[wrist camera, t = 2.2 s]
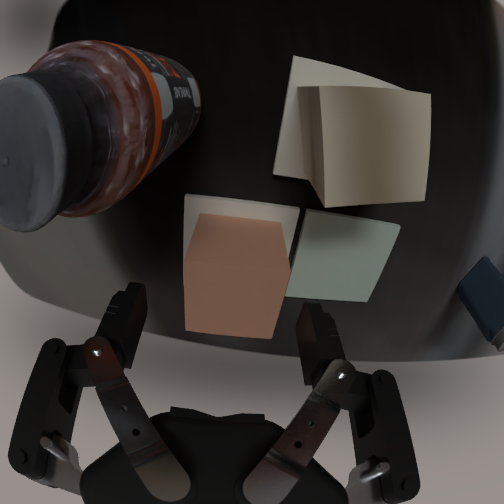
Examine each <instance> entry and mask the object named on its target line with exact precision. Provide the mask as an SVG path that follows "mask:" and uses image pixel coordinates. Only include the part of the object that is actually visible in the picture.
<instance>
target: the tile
mask: <svg viewBox="0 0 504 504" xmlns="http://www.w3.org/2000/svg"><path fill="white" fill-rule="evenodd" d="M297 86H362V87H378V88H389V89H398V90H404V89H402V88H400V87H397V86H395V85H392V84H389V83H387V82H384V81H382V80H379V79H376V78H373V77H370V76H367V75H364V74H361V73H358V72H355V71H352V70H349V69H345V68H342V67H338V66H335V65H331V64H327V63H323V62H319V61H315V60H311V59H306V58H302V57H297V56H293V58H292V64H291V70H290V76H289V81H288V87H287V93H286V99H285V105H284V110H283V116H282V122H281V128H280V133H279V139H278V145H277V150H276V156H275V162H274V167H273V174H275V175H282V176H288V177H294V178H300V179H306V180H309V179H308V178H307V176H306V174H305V173H304V163H303V148H302V135H301V123H300V112H299V101H298V91H297ZM406 91H407V90H406Z"/></svg>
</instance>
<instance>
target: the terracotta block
mask: <svg viewBox="0 0 504 504" xmlns="http://www.w3.org/2000/svg"><path fill="white" fill-rule="evenodd" d="M290 273H291V270H290V265H289V260H288V255H287V250H286V245H285V240H284V235H283V230H282V225H281V222H274V221H266V220H258V219H249V218H241V217H232V216H223V215H214V214H205V213H200V214H199V217H198V220H197V223H196V226H195V229H194V232H193V235H192V237H191V240H190V243H189V246H188V250H187V253H186V256H185V259H184V300H185V329H186V331H194V332H202V333H210V334H219V335H229V336H240V337H252V338H265V339H272V335H273V332H274V329H275V325H276V322H277V319H278V315H279V312H280V309H281V305H282V302H283V298H284V295H285V291H286V288H287V284H288V281H289V277H290Z"/></svg>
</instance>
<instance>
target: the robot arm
mask: <svg viewBox="0 0 504 504" xmlns="http://www.w3.org/2000/svg"><path fill="white" fill-rule="evenodd" d="M147 310H148V306H147V298H146V290H145V285H144V284H141V283H134V282H130V283H129V284H128V286H127V288H126V290H125V291H118V292H117V293H116V294H115V295H114V296H113V297H112V299H111V301H110V303H109V306H108V307H107V309H106V313H105V314H104V316H103V318H102V320H101V323H100V325H99V327H98V330H97V332H96V334H95V336H94V337H91V338H89V339H88V340H86V341H85V343H84V344H82V345H69V346H66V344H65V342H64V341H63V340H61V339H58V338H52V339H49V340H48V341H46V342H45V343H44V344H43V346H42V348H41V351H40V353H39V355H38V358H37V360H36V363H35V365H34V368H33V370H32V373H31V376H30V379H29V381H28V384H27V387H26V390H25V393H24V396H23V399H22V402H21V405H20V408H19V412H18V415H17V419H16V422H15V426H14V430H13V434H12V438H11V442H10V447H9V451H8V458H9V462H10V464H11V466H12V467H13V469H14V470H15V471H17V472H18V473H20V474H22V475H25V476H26V477H27V478H29V479H31V480H33V481H36V482H38V483H40V484H43V485H47V486H49V487H52V488H61V489H64V490H66V491H69V492H72V493H75V494H78V495H81V496H82V499H83V501H84V504H398V503H401V502H405V501H408V500H411V499H412V498H414V497H415V496H416V495H417V493H418V491H419V489H420V478H419V473H418V468H417V463H416V458H415V453H414V448H413V444H412V439H411V435H410V431H409V427H408V423H407V419H406V415H405V411H404V408H403V404H402V400H401V397H400V393H399V390H398V386H397V383H396V380H395V378H394V376H393V375H392V374H391V373H390V372H388V371H386V370H377V371H375V372H374V373H373V374H372V375H371V374H367V373H363V372H359V371H356V369H355V367H354V366H353V365H352V364H351V363H350V362H348V361H346V358H345V354H344V351H343V348H342V344H341V341H340V338H339V336H338V335H339V334H338V331H337V328H336V325H335V321H334V319H333V318H332V317H331V316H330V314H329V313H323V310H322V307H321V304H320V303H319V302H307V301H305V302H304V304H303V307H302V309H301V312H300V315H299V317H298V320H297V323H296V336H297V342H298V348H299V353H300V359H301V365H302V371H303V377H304V383H305V385H312V388H313V391H312V392H311V394H310V395H309V397H308V398H307V400H306V401H305V403H304V404H303V405H302V407H301V408H300V410H299V411H298V413H297V414H296V415H295V417H294V418H293V420H292V421H291V422H290V424H289V425H288V426H287V428H286V429H283V428H282V427H281V426H279V425H277V424H275V423H273V422H270V421H268V420H265V416H264V414H244V413H243V414H242V413H241V414H235V415H229V416H223V417H215V416H211V415H208V414H206V413H203V412H200V411H197V410H194V409H185V408H178V407H172V406H171V409H170V412H165V413H160V414H157V415H154V416H152V417H150V418H149V417H148V415H147V414H146V412H145V410H144V408H143V407H142V405H141V403H140V401H139V399H138V398H137V396H136V394H135V392H134V390H133V388H132V386H131V384H130V383H129V381H128V379H127V377H126V376H125V374H124V372H123V370H124V368H129V369H131V367H132V363H133V360H134V356H135V353H136V349H137V346H138V343H139V339H140V336H141V333H142V330H143V326H144V323H145V320H146V317H147ZM91 386H95V387H96V388H95V389H96V392H97V395H98V397H99V399H100V402H101V404H102V406H103V408H104V411H105V413H106V415H107V417H108V419H109V421H110V423H111V425H112V427H113V429H114V431H115V433H116V435H117V437H118V439H119V441H120V442H119V443H118V444H116V445H115V446H114V447H112V448H111V449H110V450H109V451H107V452H106V453H105V454H103V455H102V456H101V457H99V458H98V459H97V460H95V461H94V462H93V463H92V464H90V465H89V466H88V467H87V468H86V469H85V470H84V471H82V470H81V468H80V466H79V462H78V453H77V451H76V449H75V448H74V447H73V446H72V445H71V444H70V443H71V437H72V432H73V427H74V422H75V418H76V414H77V409H78V405H79V401H80V397H81V393H82V389H83V387H91ZM341 409H344V410H348V411H349V417H350V423H351V429H352V436H353V443H354V450H355V458H356V467H355V468H354V469H352V471H351V472H350V474H349V482H348V485H347V487H346V488H344V487H343V486H342V485H341V484H340V483H339V482H338V481H337V480H336V479H335V478H334V477H333V476H332V475H331V474H330V473H328V472H327V471H326V470H325V469H324V468H323V467H322V466H321V465H320V464H319V463H318V462H317V461H316V460H315V459H314V458H313V456H314V454H315V452H316V451H317V449H318V448H319V446H320V444H321V443H322V441H323V440H324V438H325V437H326V435H327V433H328V431H329V430H330V428H331V426H332V425H333V423H334V421H335V420H336V418H337V416H338V414H339V412H340V410H341Z"/></svg>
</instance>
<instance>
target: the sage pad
mask: <svg viewBox="0 0 504 504" xmlns="http://www.w3.org/2000/svg"><path fill="white" fill-rule="evenodd" d="M400 228H401V227H400V226H399V225H398V224H393V223H388V222H383V221H377V220H372V219H367V218H361V217H356V216H350V215H344V214H338V213H332V212H326V211H320V210H313V209H307V208H306V213H305V217H304V221H303V225H302V228H301V232H300V236H299V240H298V244H297V248H296V252H295V255H294V259H293V263H292V266H291V273H290V277H289V281H288V284H287V288H286V291H285V296H287V297H299V298H312V299H326V300H341V301H358V302H367V301H368V299H369V297H370V295H371V293H372V291H373V289H374V287H375V285H376V283H377V281H378V278H379V276H380V274H381V272H382V270H383V268H384V265H385V263H386V261H387V259H388V257H389V254H390V252H391V250H392V247H393V245H394V243H395V240H396V238H397V235H398V233H399V230H400Z"/></svg>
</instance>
